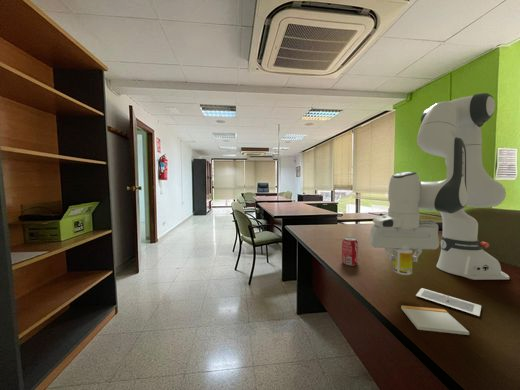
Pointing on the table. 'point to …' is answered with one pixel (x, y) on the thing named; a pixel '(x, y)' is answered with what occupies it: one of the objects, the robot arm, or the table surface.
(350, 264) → the soda can
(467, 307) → the touchpad
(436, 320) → the notepad
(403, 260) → the supplement bottle
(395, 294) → the table surface
